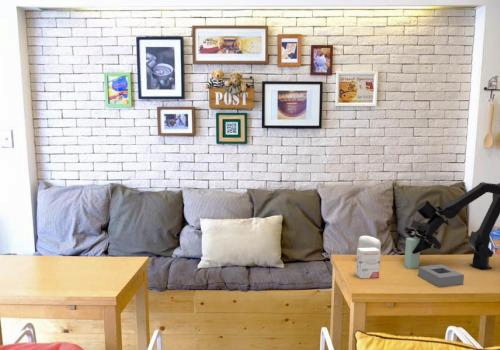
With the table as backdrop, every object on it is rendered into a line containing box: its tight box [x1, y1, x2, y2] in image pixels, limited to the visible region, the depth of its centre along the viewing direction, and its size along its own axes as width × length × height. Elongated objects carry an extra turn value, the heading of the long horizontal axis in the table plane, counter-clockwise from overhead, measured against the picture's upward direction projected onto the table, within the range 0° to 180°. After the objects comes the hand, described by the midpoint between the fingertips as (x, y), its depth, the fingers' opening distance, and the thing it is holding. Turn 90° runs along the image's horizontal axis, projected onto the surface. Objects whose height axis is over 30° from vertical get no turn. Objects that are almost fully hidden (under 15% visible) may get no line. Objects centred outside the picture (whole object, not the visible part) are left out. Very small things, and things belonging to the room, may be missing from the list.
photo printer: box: [357, 235, 382, 251], centre depth 187 cm, size 10×4×12 cm, turn 45°
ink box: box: [355, 247, 381, 279], centre depth 171 cm, size 9×5×12 cm, turn 98°
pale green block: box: [403, 237, 421, 269], centre depth 183 cm, size 5×4×13 cm
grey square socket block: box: [417, 263, 465, 288], centre depth 169 cm, size 12×12×4 cm
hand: (409, 251), depth 182 cm, fingers open, 4 cm apart
